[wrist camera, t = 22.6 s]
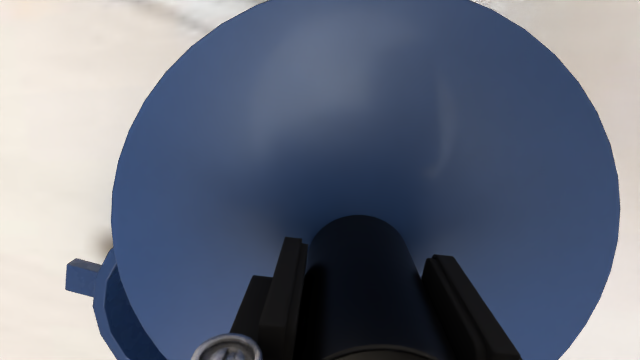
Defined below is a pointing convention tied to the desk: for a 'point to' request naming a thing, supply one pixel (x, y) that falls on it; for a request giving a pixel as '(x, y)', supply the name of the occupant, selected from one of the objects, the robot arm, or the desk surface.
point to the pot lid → (367, 179)
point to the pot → (112, 308)
